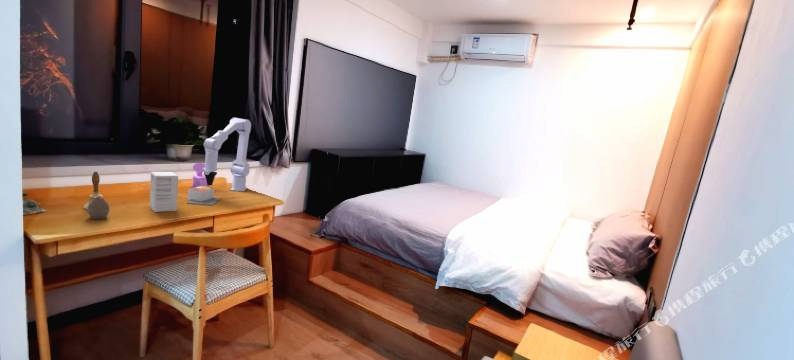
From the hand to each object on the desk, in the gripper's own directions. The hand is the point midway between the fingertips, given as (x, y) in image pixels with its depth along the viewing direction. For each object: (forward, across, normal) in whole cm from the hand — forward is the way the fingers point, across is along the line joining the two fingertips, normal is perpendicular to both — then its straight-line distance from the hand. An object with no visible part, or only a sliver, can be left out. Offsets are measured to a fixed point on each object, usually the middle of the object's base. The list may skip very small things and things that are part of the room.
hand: (209, 185), depth 191 cm
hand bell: (+7, +32, -36) cm, 49 cm away
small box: (+4, 0, -1) cm, 4 cm away
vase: (+7, +46, -28) cm, 54 cm away
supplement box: (+7, +26, -12) cm, 30 cm away
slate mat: (+7, +8, 0) cm, 11 cm away
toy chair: (+7, -18, -10) cm, 21 cm away
